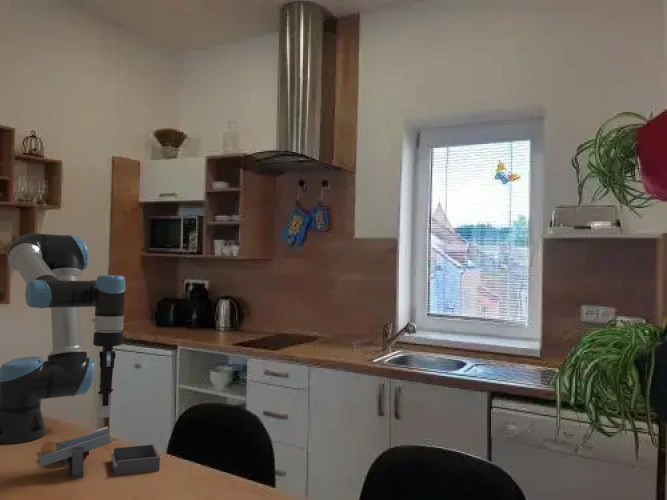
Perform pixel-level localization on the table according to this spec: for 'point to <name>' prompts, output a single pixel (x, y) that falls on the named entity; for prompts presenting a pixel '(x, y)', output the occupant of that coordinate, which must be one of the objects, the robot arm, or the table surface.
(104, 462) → the table surface
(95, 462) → the table surface
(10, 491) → the table surface
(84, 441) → the rimmed blue-grey trough
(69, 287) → the robot arm
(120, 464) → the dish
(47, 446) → the ball
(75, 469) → the stand
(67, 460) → the toy
